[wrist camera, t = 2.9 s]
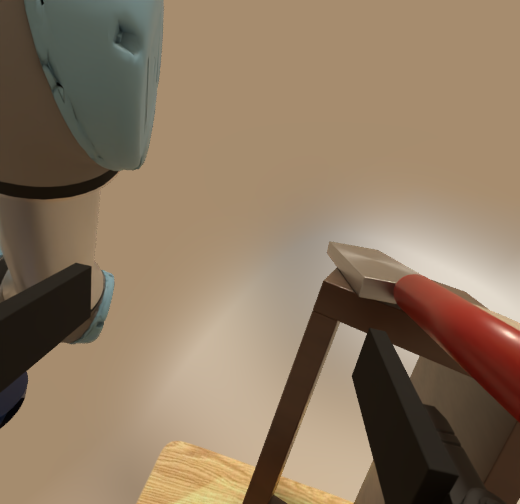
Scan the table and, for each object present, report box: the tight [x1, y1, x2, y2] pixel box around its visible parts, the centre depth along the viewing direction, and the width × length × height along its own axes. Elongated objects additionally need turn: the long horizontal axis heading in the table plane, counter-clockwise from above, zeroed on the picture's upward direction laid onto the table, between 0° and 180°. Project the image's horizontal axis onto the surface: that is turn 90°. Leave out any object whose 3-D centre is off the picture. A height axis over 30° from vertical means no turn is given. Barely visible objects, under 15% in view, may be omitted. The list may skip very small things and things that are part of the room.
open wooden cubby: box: [243, 268, 520, 504], centre depth 31 cm, size 22×13×38 cm, turn 158°
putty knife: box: [327, 242, 520, 423], centre depth 18 cm, size 25×5×2 cm, turn 175°
